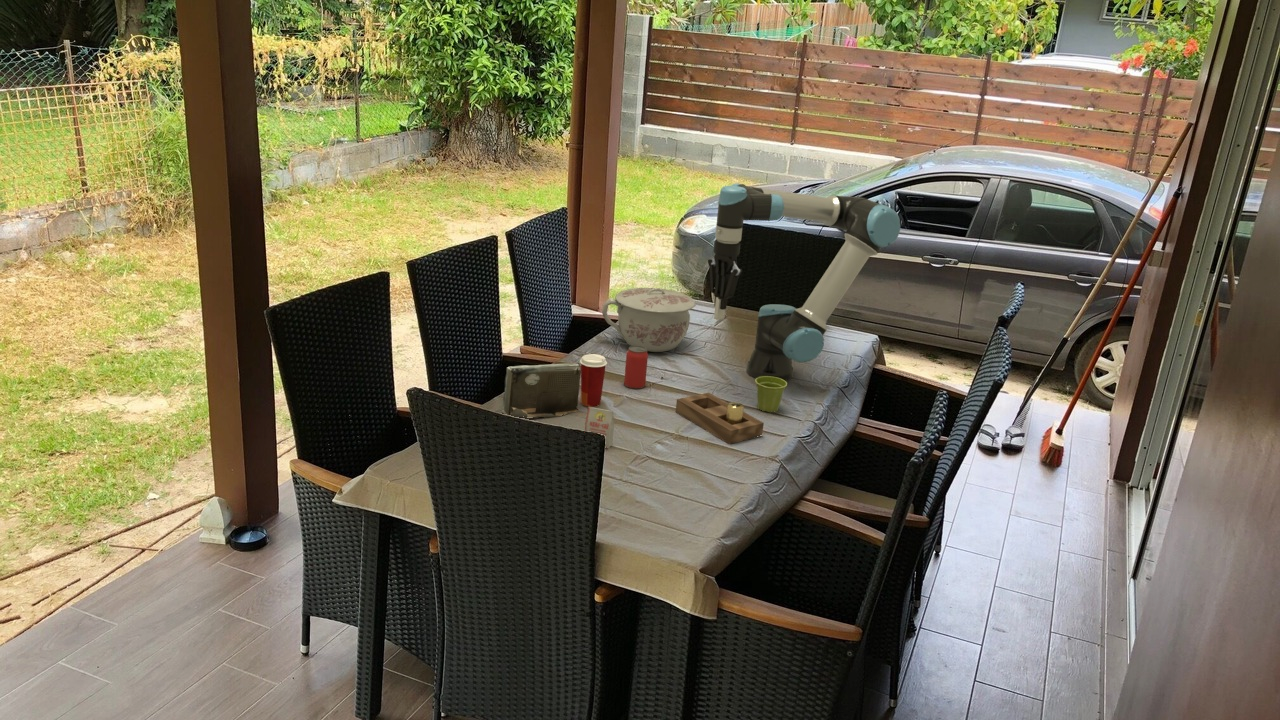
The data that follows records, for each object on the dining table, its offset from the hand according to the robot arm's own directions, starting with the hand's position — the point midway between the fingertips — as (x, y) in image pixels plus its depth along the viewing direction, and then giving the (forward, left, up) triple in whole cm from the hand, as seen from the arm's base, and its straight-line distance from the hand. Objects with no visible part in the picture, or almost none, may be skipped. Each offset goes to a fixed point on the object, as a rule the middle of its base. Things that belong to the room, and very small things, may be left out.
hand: (718, 318), depth 287 cm
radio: (+53, -11, -25) cm, 60 cm away
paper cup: (+37, -10, -25) cm, 46 cm away
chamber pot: (-9, -44, -25) cm, 51 cm away
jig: (+12, +18, -24) cm, 33 cm away
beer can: (+17, -16, -25) cm, 34 cm away
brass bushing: (+12, +24, -24) cm, 36 cm away
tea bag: (+50, +14, -25) cm, 58 cm away
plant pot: (-9, +16, -25) cm, 31 cm away
